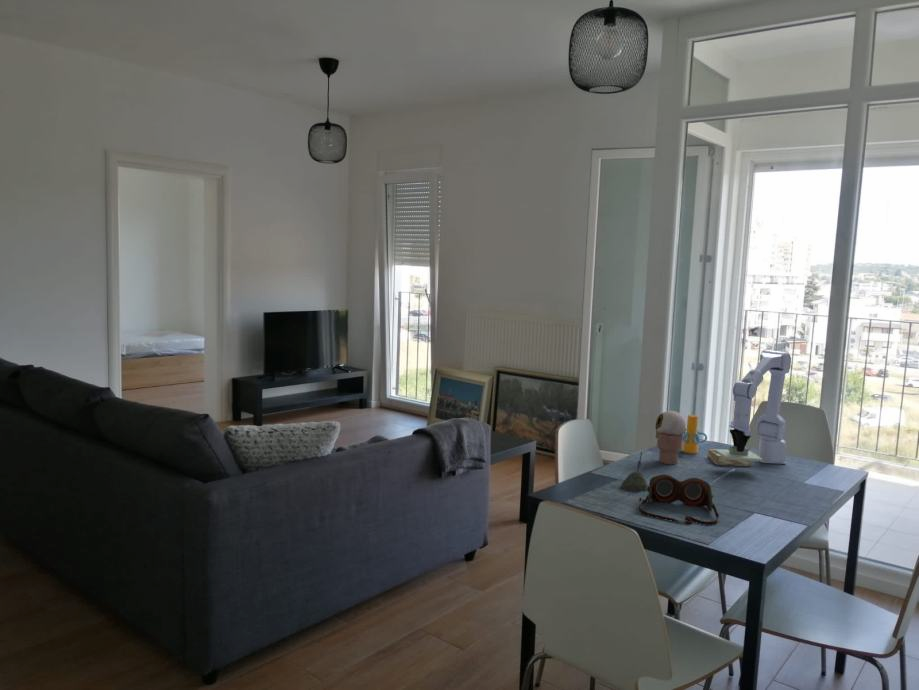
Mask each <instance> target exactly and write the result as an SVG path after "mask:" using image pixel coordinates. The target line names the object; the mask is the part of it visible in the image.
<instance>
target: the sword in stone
mask: <svg viewBox="0 0 919 690" xmlns="http://www.w3.org/2000/svg"><path fill="white" fill-rule="evenodd" d="M642 454H643V452H642V451H641V453H640V457H639V460H638V461H637V471H632V472H631V473H629V474H628V475H627V476H626V477H625V479H624V480H623V481H622V483H621V485H620V487H619V488H620V489H622V490H624V491H626V492H636V493H641V491H643V492H647V488H648V486H649V485H648V483H647V482H646V478H645V476H644V475H643V473H642V472H641V471H639V469H640V468H641V464H642V462H641V460H642V456H643V455H642Z"/></svg>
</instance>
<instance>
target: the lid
mask: <svg viewBox="0 0 919 690" xmlns="http://www.w3.org/2000/svg"><path fill="white" fill-rule="evenodd" d="M715 452H717V453H718V454H720V455H721V456H722V457H724V458H725V459H728V460H741V461H751V462H760V461H762V458H760V457H759V456H758V454H756V453H754V452H752V451H751V450H749V448H748V447H747V446H745V449H744V451H743V452H738V451H737V446H733V445H730V446H729V449H720V448H719V449H718V448H716V449H715Z"/></svg>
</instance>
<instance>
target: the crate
mask: <svg viewBox="0 0 919 690" xmlns="http://www.w3.org/2000/svg"><path fill="white" fill-rule="evenodd" d="M707 450H708V451H707V459H708V460H710V461H711V462H712V463H713V464H715V465H716V466H730V467H731V466H733V467H734V466H736V467H751V466H752V461H741V460H728V459H725V458H724V457H722V456H721V455H720V454H718V453H717V452H715V449H714V448H713V449H711V448H708V449H707Z"/></svg>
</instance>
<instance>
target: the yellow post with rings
mask: <svg viewBox="0 0 919 690" xmlns="http://www.w3.org/2000/svg"><path fill="white" fill-rule="evenodd" d="M686 421H687V422H686V429H685V431H684V433H683V439H682V448H681V450H682V452H683V453H686V454H698V451H699V443H702V444H703V443H705V442H707V440H708V436H707V434H706V433H705V432H702V431H701V432H700V431H699V430H698V422H699V416H698V415H696V414H687V420H686ZM700 435H703V436H704V439H703V440H700Z"/></svg>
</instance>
